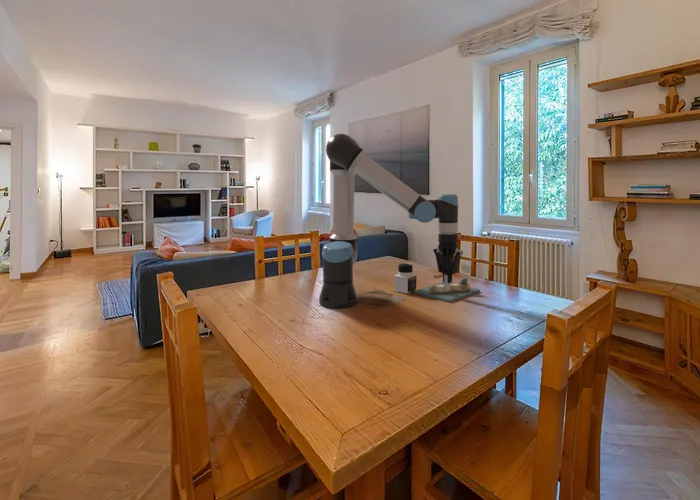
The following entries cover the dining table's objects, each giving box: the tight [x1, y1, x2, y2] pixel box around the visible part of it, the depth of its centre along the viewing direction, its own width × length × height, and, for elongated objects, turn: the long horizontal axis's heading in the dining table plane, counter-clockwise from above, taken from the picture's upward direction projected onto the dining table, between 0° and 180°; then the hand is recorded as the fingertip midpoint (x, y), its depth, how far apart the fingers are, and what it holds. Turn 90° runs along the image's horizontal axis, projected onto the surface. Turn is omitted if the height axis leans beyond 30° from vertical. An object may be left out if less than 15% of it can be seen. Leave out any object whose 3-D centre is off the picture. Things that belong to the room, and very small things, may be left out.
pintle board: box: [413, 272, 481, 304], centre depth 162 cm, size 22×18×6 cm
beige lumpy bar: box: [429, 282, 471, 293], centre depth 160 cm, size 18×5×2 cm, turn 102°
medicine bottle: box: [393, 262, 417, 294], centre depth 164 cm, size 7×7×12 cm
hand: (447, 289), depth 157 cm, fingers closed
